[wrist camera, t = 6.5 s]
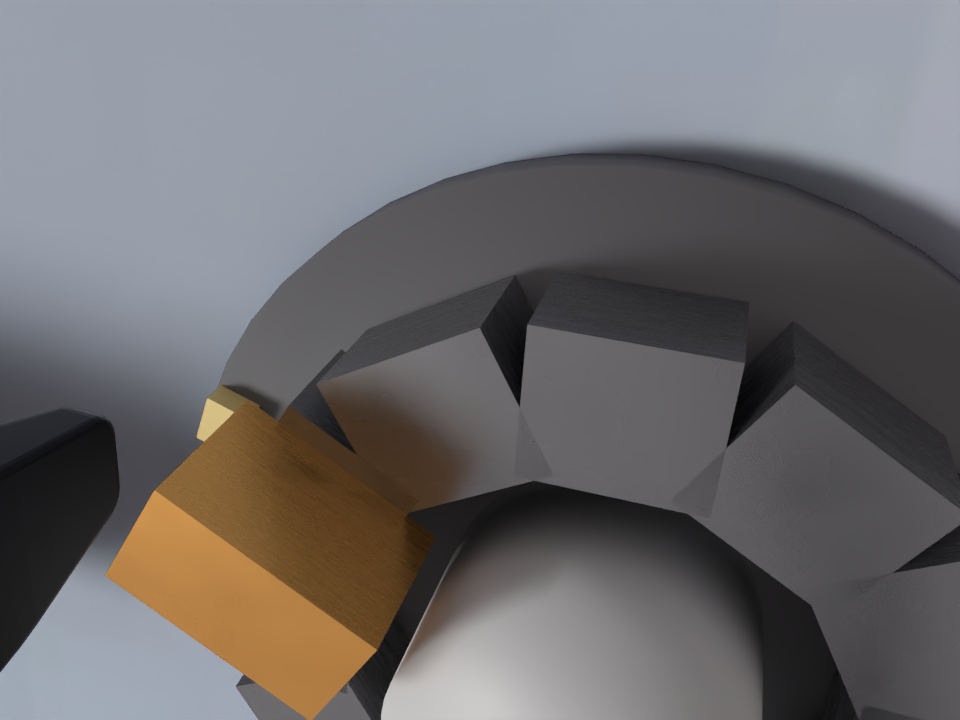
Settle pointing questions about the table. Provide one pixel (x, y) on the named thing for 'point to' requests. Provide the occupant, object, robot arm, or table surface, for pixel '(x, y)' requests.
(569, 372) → the grey toothed bowl
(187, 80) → the table surface
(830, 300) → the cap base
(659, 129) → the table surface
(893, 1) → the table surface
